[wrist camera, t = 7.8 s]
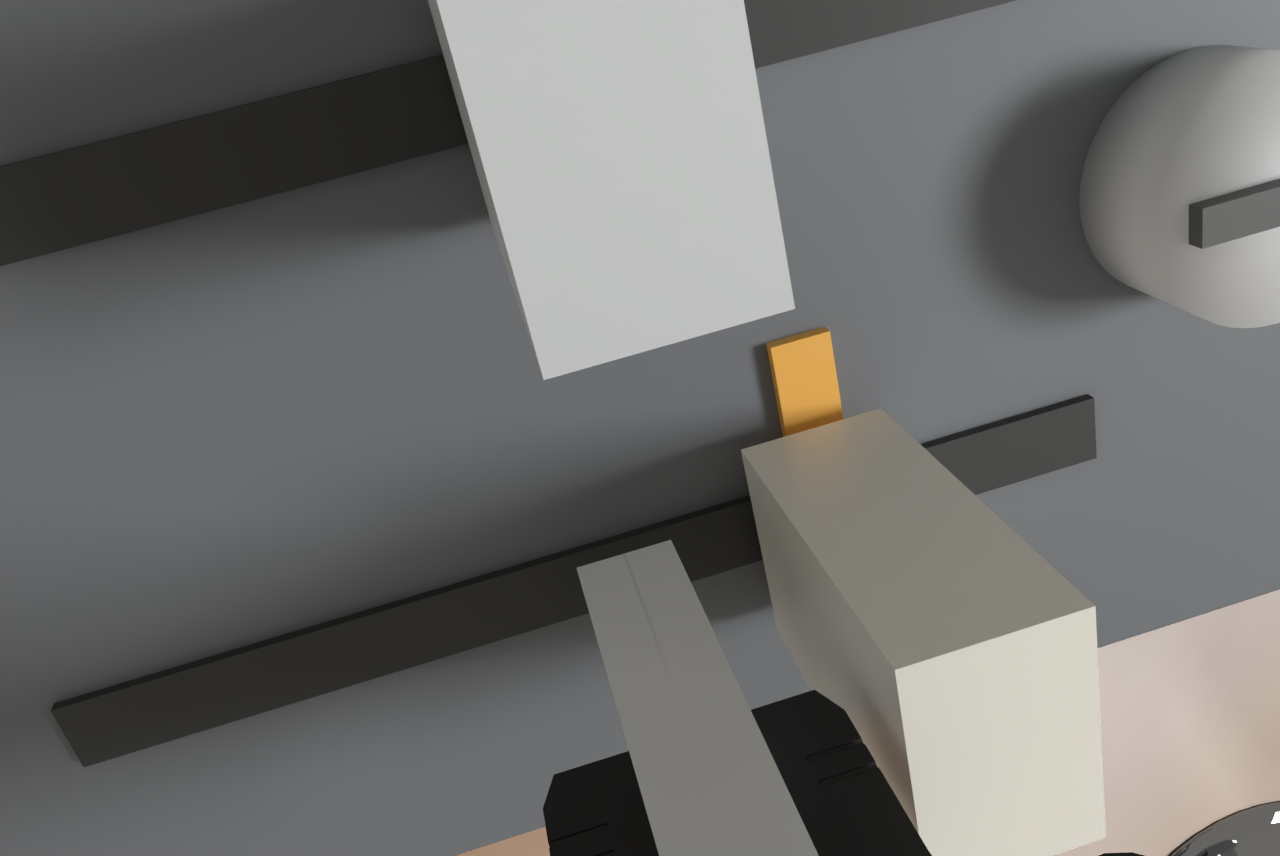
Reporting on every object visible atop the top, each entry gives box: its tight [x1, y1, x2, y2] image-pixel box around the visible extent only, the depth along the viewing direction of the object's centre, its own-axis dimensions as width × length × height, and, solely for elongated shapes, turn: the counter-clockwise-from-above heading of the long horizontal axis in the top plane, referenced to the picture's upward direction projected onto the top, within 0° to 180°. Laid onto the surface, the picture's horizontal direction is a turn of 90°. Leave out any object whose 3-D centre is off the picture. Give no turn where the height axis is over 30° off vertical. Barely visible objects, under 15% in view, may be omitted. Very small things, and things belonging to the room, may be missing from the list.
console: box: [0, 0, 1280, 856], centre depth 16 cm, size 18×25×4 cm
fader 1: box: [428, 0, 795, 380], centre depth 12 cm, size 4×2×6 cm, turn 13°
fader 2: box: [741, 408, 1106, 856], centre depth 15 cm, size 4×2×6 cm, turn 13°
